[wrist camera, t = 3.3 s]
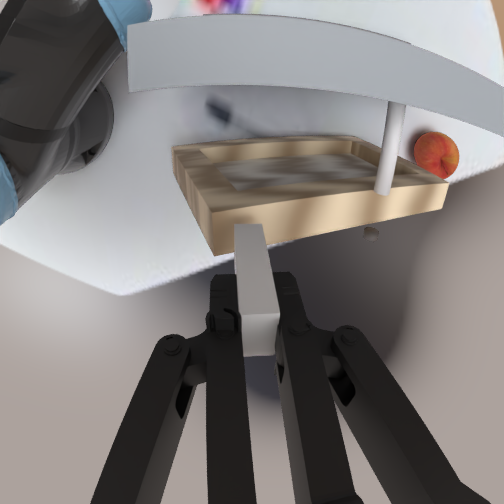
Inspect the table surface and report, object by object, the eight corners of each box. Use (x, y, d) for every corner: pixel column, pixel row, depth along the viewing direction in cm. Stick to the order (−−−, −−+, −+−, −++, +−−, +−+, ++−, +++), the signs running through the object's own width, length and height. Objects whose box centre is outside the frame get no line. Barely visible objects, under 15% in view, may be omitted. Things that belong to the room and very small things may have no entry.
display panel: (203, 125, 36) (152, 267, 12) (203, 16, 27) (142, -102, 3) (394, 137, 38) (547, 252, 14) (404, 43, 29) (589, 77, 5)
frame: (173, 178, 30) (222, 279, 17) (171, 146, 28) (220, 226, 15) (350, 160, 38) (450, 221, 25) (354, 136, 36) (460, 189, 23)
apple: (443, 133, 38) (474, 148, 31) (431, 171, 42) (459, 192, 35) (411, 120, 37) (442, 134, 30) (399, 162, 41) (426, 182, 34)
